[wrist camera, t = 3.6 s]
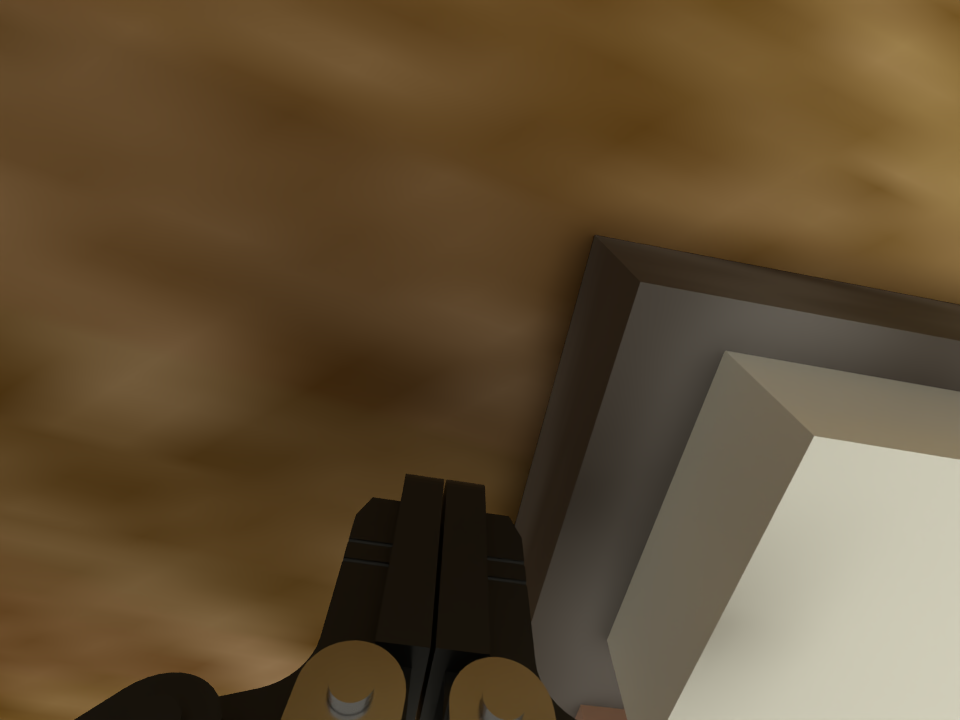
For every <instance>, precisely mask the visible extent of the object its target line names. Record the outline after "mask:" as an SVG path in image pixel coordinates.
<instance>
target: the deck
mask: <svg viewBox="0 0 960 720" xmlns="http://www.w3.org/2000/svg"><path fill="white" fill-rule="evenodd" d="M725 351H730V352H736V353H742V354H748V355H753V356H759V357H765V358H770V359H776V360H782V361H787V362H793V363H799V364H805V365H810V366H816V367H822V368H827V369H833V370H839V371H844V372H850V373H856V374H862V375H867V376H873V377H879V378H884V379H890V380H896V381H901V382H907V383H913V384H919V385H924V386H930V387H936V388H941V389H947V390H953V391H958V392H960V305H958V304H953V303H948V302H942V301H937V300H932V299H927V298H921V297H916V296H911V295H906V294H901V293H895V292H890V291H885V290H880V289H874V288H869V287H864V286H859V285H854V284H848V283H843V282H838V281H833V280H827V279H822V278H817V277H812V276H807V275H801V274H796V273H791V272H786V271H780V270H775V269H770V268H765V267H760V266H754V265H749V264H744V263H739V262H733V261H728V260H723V259H718V258H713V257H707V256H702V255H697V254H692V253H686V252H681V251H676V250H671V249H666V248H660V247H655V246H650V245H645V244H639V243H634V242H629V241H624V240H619V239H613V238H608V237H603V236H598V235H595V236H594V240H593V243H592V247H591V251H590V254H589V258H588V262H587V265H586V269H585V272H584V276H583V280H582V283H581V287H580V291H579V294H578V298H577V301H576V305H575V309H574V312H573V316H572V320H571V323H570V327H569V331H568V334H567V338H566V341H565V345H564V349H563V352H562V356H561V360H560V363H559V367H558V371H557V374H556V378H555V381H554V385H553V389H552V392H551V396H550V400H549V403H548V407H547V410H546V414H545V418H544V421H543V425H542V429H541V432H540V436H539V440H538V443H537V447H536V450H535V454H534V458H533V461H532V465H531V469H530V472H529V476H528V480H527V483H526V487H525V490H524V494H523V498H522V501H521V505H520V509H519V512H518V516H517V520H516V523H515V528H516V529H517V531H518V533H519V534H520V536H521V537H522V545H523V554H524V566H525V572H526V580H527V581H526V586H527V589H528V598H529V607H530V616H531V625H532V634H533V643H534V652H535V661H536V667H537V671H538V674H539V677H540V680H541V682H542V683H543V684H544V686H545V688H546V689H547V691H548V693H549V695H550V697H551V698H552V699H553V700H554V701H555V702H556V704H557V705H558V706H559V707H560V708H562V709H563V710H564V711H565V712H566V713H567V714H569V715H570V716H572V717H573V718H574V719H575V717H576V715H577V712H578V710H579V707H580V705H590V706H599V707H608V708H617V709H624V705H623V701H622V697H621V693H620V689H619V685H618V682H617V678H616V674H615V670H614V666H613V662H612V658H611V654H610V650H609V646H608V642H607V639H608V636H609V634H610V631H611V629H612V626H613V624H614V622H615V619H616V617H617V614H618V612H619V609H620V607H621V604H622V602H623V599H624V597H625V595H626V592H627V590H628V587H629V585H630V582H631V580H632V577H633V575H634V572H635V570H636V568H637V565H638V563H639V560H640V558H641V555H642V553H643V550H644V548H645V545H646V543H647V541H648V538H649V536H650V533H651V531H652V528H653V526H654V523H655V521H656V519H657V516H658V514H659V511H660V509H661V506H662V504H663V501H664V499H665V496H666V494H667V492H668V489H669V487H670V484H671V482H672V479H673V477H674V474H675V472H676V469H677V467H678V465H679V462H680V460H681V457H682V455H683V452H684V450H685V447H686V445H687V442H688V440H689V438H690V435H691V433H692V430H693V428H694V425H695V423H696V420H697V418H698V415H699V413H700V411H701V408H702V406H703V403H704V401H705V398H706V396H707V393H708V391H709V388H710V386H711V384H712V381H713V379H714V376H715V374H716V371H717V369H718V366H719V364H720V361H721V359H722V357H723V354H724V352H725Z"/></svg>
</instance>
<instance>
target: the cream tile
mask: <svg viewBox="0 0 960 720" xmlns="http://www.w3.org/2000/svg"><path fill="white" fill-rule="evenodd" d="M607 642H608V646H609V650H610V654H611V658H612V662H613V666H614V670H615V674H616V678H617V682H618V685H619V689H620V693H621V697H622V701H623V705H624V709H625V713H626V717H627V720H960V392H958V391H953V390H947V389H941V388H936V387H930V386H924V385H919V384H913V383H907V382H901V381H896V380H890V379H884V378H879V377H873V376H867V375H862V374H856V373H850V372H844V371H839V370H833V369H827V368H822V367H816V366H810V365H805V364H799V363H793V362H787V361H782V360H776V359H770V358H765V357H759V356H753V355H748V354H742V353H736V352H730V351H725V352H724V354H723V357H722V359H721V361H720V364H719V366H718V369H717V371H716V374H715V376H714V379H713V381H712V384H711V386H710V388H709V391H708V393H707V396H706V398H705V401H704V403H703V406H702V408H701V411H700V413H699V415H698V418H697V420H696V423H695V425H694V428H693V430H692V433H691V435H690V438H689V440H688V442H687V445H686V447H685V450H684V452H683V455H682V457H681V460H680V462H679V465H678V467H677V469H676V472H675V474H674V477H673V479H672V482H671V484H670V487H669V489H668V492H667V494H666V496H665V499H664V501H663V504H662V506H661V509H660V511H659V514H658V516H657V519H656V521H655V523H654V526H653V528H652V531H651V533H650V536H649V538H648V541H647V543H646V545H645V548H644V550H643V553H642V555H641V558H640V560H639V563H638V565H637V568H636V570H635V572H634V575H633V577H632V580H631V582H630V585H629V587H628V590H627V592H626V595H625V597H624V599H623V602H622V604H621V607H620V609H619V612H618V614H617V617H616V619H615V622H614V624H613V626H612V629H611V631H610V634H609V636H608V639H607Z"/></svg>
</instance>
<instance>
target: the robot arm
mask: <svg viewBox="0 0 960 720" xmlns="http://www.w3.org/2000/svg"><path fill="white" fill-rule="evenodd" d="M443 485H444V479H438V478H431V477H424V476H418V475H411V474H406V476H405V482H404V487H403V493H402V498H401V501H395V500H388V499H381V498H374V497H373V498H372V499H371V500H370V501H369V502H368V503H367V504H366V505H365V506H364V507H363V508H362V509H361V510H360V511H359V512H358V513H357V514H356V516H355V520H354V523H353V526H352V530H351V533H350V537H349V542H348V544H347V547H346V551H345V554H344V558H343V562H342V565H341V568H340V571H339V575H338V578H337V582H336V585H335V589H334V592H333V596H332V599H331V603H330V606H329V610H328V613H327V616H326V620H325V623H324V627H323V630H322V634H321V637H320V640H319V642H318V645H317V647H316V649H315V650H314V652H313V654H312V655H311V656H310V658H309V659H308V660H307V661H306V662H305V663H304V664H303V665H302V666H301V667H300V668H299V669H298V670H296V671H295V672H294V673H292V674H291V675H290V676H288V677H286V678H284V679H283V680H281V681H279V682H276V683H274V684H271V685H269V686H265V687H262V688H258V689H253V690H248V691H243V692H239V693H234V694H229V695H224V696H219V697H218V695H217V693H216V692H215V690H214V688H213V687H212V686H211V685H210V684H209V683H208V682H206V681H205V680H203V679H201V678H200V677H197V676H194V675H191V674H186V673H164V674H158V675H154V676H151V677H147V678H145V679H142V680H140V681H138V682H135V683H133V684H132V685H130V686H128V687H126V688H124V689H123V690H121V691H120V692H118V693H116V694H115V695H113V696H112V697H110V698H108V699H107V700H105V701H104V702H102V703H100V704H99V705H97V706H96V707H94V708H92V709H91V710H89V711H88V712H86V713H84V714H83V715H81V716H80V717H78V718H76V719H75V720H576V719H574V718H573V717H572V716H570V715H569V714H567V713H566V712H565V711H564V710H563V709H562V708H560V707H559V706H558V705H557V704H556V702H555V701H554V700H553V699H552V698H551V697H550V695H549V693H548V691H547V689H546V688H545V686H544V684H543V683H542V682H541V680H540V677H539V674H538V671H537V667H536V661H535V652H534V643H533V634H532V625H531V616H530V607H529V598H528V589H527V586H526V581H527V580H526V572H525V566H524V554H523V545H522V537H521V536H520V534H519V533H518V531H517V529H516V528H515V526H514V524H513V523H512V521H511V520H510V518H509V516H502V515H495V514H488V513H486V503H485V486H484V485H480V484H474V483H467V482H460V481H453V480H446V483H445V488H444V493H443Z"/></svg>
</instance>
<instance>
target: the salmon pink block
mask: <svg viewBox="0 0 960 720" xmlns="http://www.w3.org/2000/svg"><path fill="white" fill-rule="evenodd" d="M575 719H576V720H627V717H626V713H625V709H617V708H608V707H599V706H590V705H580V707H579V710H578V712H577V715H576V717H575Z"/></svg>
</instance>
